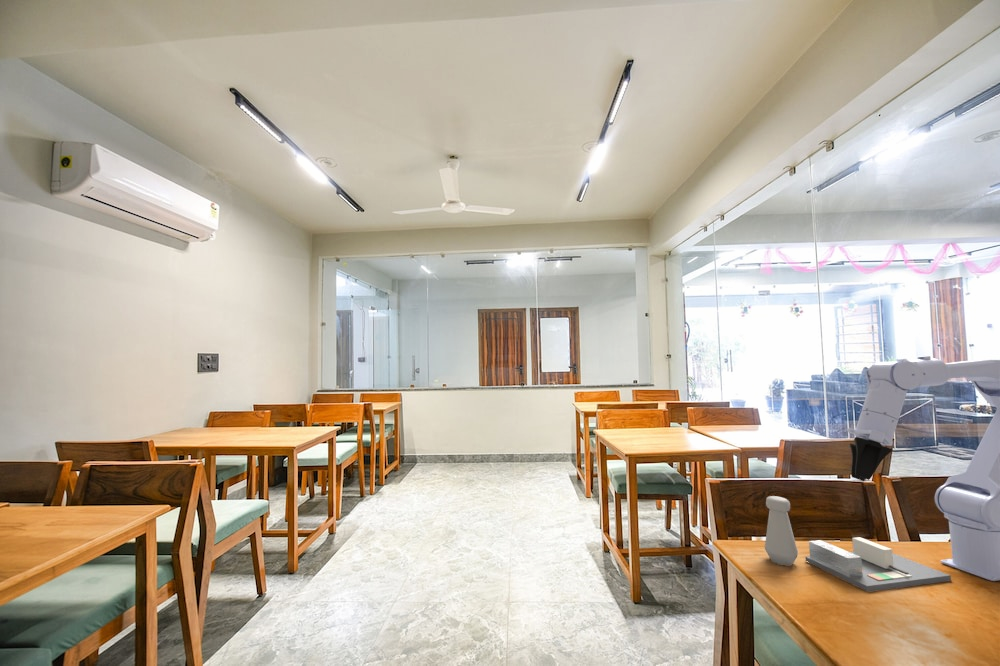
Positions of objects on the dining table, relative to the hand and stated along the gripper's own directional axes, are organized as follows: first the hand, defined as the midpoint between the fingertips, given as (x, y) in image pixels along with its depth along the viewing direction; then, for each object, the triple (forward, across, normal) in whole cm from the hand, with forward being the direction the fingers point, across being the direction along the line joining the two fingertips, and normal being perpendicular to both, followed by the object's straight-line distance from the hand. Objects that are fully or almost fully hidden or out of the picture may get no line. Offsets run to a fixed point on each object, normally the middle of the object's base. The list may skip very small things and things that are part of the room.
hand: (859, 478), depth 83 cm
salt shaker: (+22, 0, -8) cm, 24 cm away
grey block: (+19, 0, +1) cm, 19 cm away
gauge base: (+16, -6, +6) cm, 18 cm away
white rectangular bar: (+14, -6, +7) cm, 17 cm away
